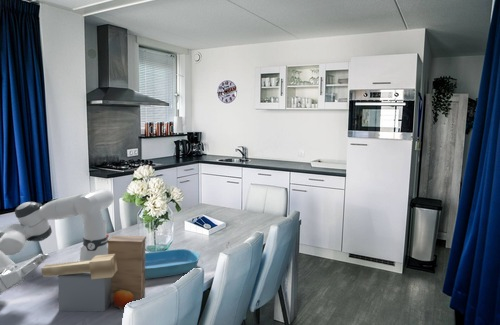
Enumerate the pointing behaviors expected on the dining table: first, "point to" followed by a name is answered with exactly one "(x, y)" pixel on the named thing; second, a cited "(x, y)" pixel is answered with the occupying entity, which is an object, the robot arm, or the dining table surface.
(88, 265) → the mallet
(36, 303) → the dining table surface
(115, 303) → the fruit
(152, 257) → the casserole dish
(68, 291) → the storage box
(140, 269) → the shelf block
